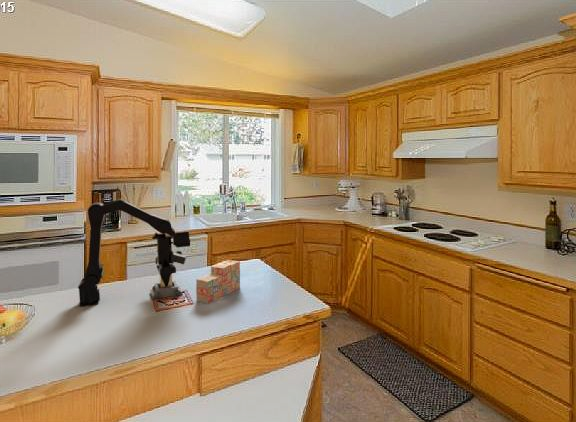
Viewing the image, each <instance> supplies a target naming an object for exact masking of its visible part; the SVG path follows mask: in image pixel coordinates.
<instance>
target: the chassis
mask: <svg viewBox="0 0 576 422" xmlns="http://www.w3.org/2000/svg"><path fill="white" fill-rule="evenodd" d="M150 295H151V299H153V300H154V299H156V300H159V299H160V298H161V297H162V298H167V297H175V296H176V297H179V296H181V295H183V289H182V288H181V286H180V285H178V283H177V282H176V280H172V287H167V288H161V287H160V282H157V283H154V285H153V286H152V288H151V289H150Z"/></svg>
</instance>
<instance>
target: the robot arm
mask: <svg viewBox="0 0 576 422" xmlns="http://www.w3.org/2000/svg"><path fill="white" fill-rule="evenodd" d="M116 211H121V212H124V213H126V214H128V215H130V216H132V217H134V218H136V219H138V220H141V221H142V222H144V223H147V224H148V225H149V226H150V227H152V228H153V229H154V230H156V231H157V232H154V234H153V235H151V237H152V238H151V239H152V240H156V245H157V246H156V248H157V250H156V253H157V255H156V257H155V258H154V260H155V261H154V262H155V264H156V268H157V270H158V274H160V276H161V278H162V280H163V282H164V284H165V286H168V284H169V279H170V275H171V274H172V275H173V274H176V273H177V267H176V266H175V263H177V264H180V265H185V263H186V260H187V256H186V255H185V254H183V253H182V250H177V251H175V252H174V251H173V249H172V245H173V246H175V247H176V248H187V247H191V239H190V231H189V230H184V231H183V230H182V231H176V230H175V228H173V227H172V224H171V221H170V220H169V219H168V218H167V217H164V216H162V215H161V216H160V215H155V214H152V213H150V212H148V211H146V210H144V209H142V208H139V207H138V206H136V205H135V204H132V203H130V202H128V201H126V200H125V199H123V198H118V199H116V200H115V199H114V200H111V201H106V202H103V203H102V202H99V201H98V202H96V201H95V202H94V203H91V205H90V206H89V207H88V209H87V217H88V221H89V226H90V229H89V230H90V231H89V234H90V235H89V248H88V262H87V266H86V270H85V272H84V277H83V278H82V279H81V280H80V282H79V284H78V287H77V289H78V295H79V307H86V306H93V305H98V304H99V302H100V300H101V297H100V296H101V294H100V293H101V292H100V289H99V288H98V284H100V282H101V279H103V277H104V274H105V272H104V267H105V263H103V264H102V263H101V260H100V259H101V243H102V241H101V240H102V230H103V229H102V227H103V224H104V220H105V217H106V215H108V214H111V213H114V212H116ZM160 276H159V277H160Z"/></svg>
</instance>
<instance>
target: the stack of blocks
mask: <svg viewBox="0 0 576 422" xmlns="http://www.w3.org/2000/svg"><path fill="white" fill-rule="evenodd" d="M240 264H241V262H240V261H238V260H232V259H227V260H223V261H221V262H219V263H216V264H214V265H210V273H208V274H206V275H204V276H203V275H202V276H201V277H198V278H196V280H195V281H196V284H195V285H196V286H195V289H196V290H195V291H196V294H195V295H196V301H198V302H201V303H205V304H209V303H212V302H213V301H216V300H218V299H220V298H222V297H224V296H226V295H228V294H230V293H232V292H234V291H236V290H238V289H240V288H241V265H240Z"/></svg>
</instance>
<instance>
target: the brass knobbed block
mask: <svg viewBox="0 0 576 422" xmlns="http://www.w3.org/2000/svg"><path fill="white" fill-rule="evenodd" d="M158 274H159V273H158ZM172 281H173V273H172V274H171V275H170V279H169V284H168V286H165V284H164V282H163V280H162V278H161V276H160V274H159V283H160V287H161V288H167V287H172Z"/></svg>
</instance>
